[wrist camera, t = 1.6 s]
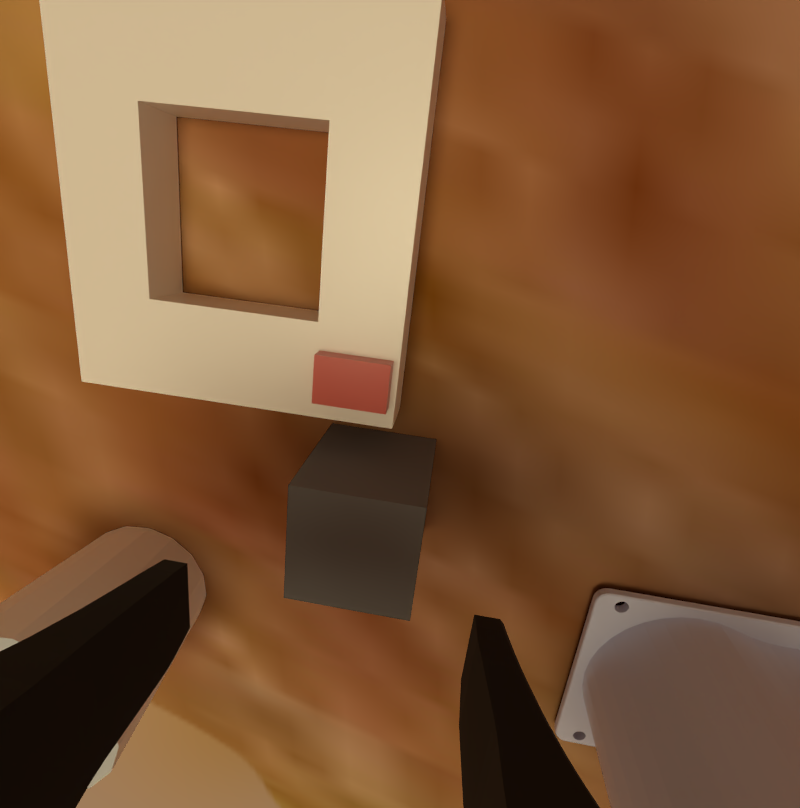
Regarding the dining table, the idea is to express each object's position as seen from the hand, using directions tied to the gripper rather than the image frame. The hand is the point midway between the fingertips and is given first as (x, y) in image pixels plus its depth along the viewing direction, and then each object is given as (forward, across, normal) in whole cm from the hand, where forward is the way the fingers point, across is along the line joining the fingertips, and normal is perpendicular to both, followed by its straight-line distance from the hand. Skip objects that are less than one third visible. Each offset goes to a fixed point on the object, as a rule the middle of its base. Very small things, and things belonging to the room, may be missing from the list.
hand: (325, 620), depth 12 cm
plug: (+8, 0, 0) cm, 8 cm away
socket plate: (+8, +5, -9) cm, 13 cm away
